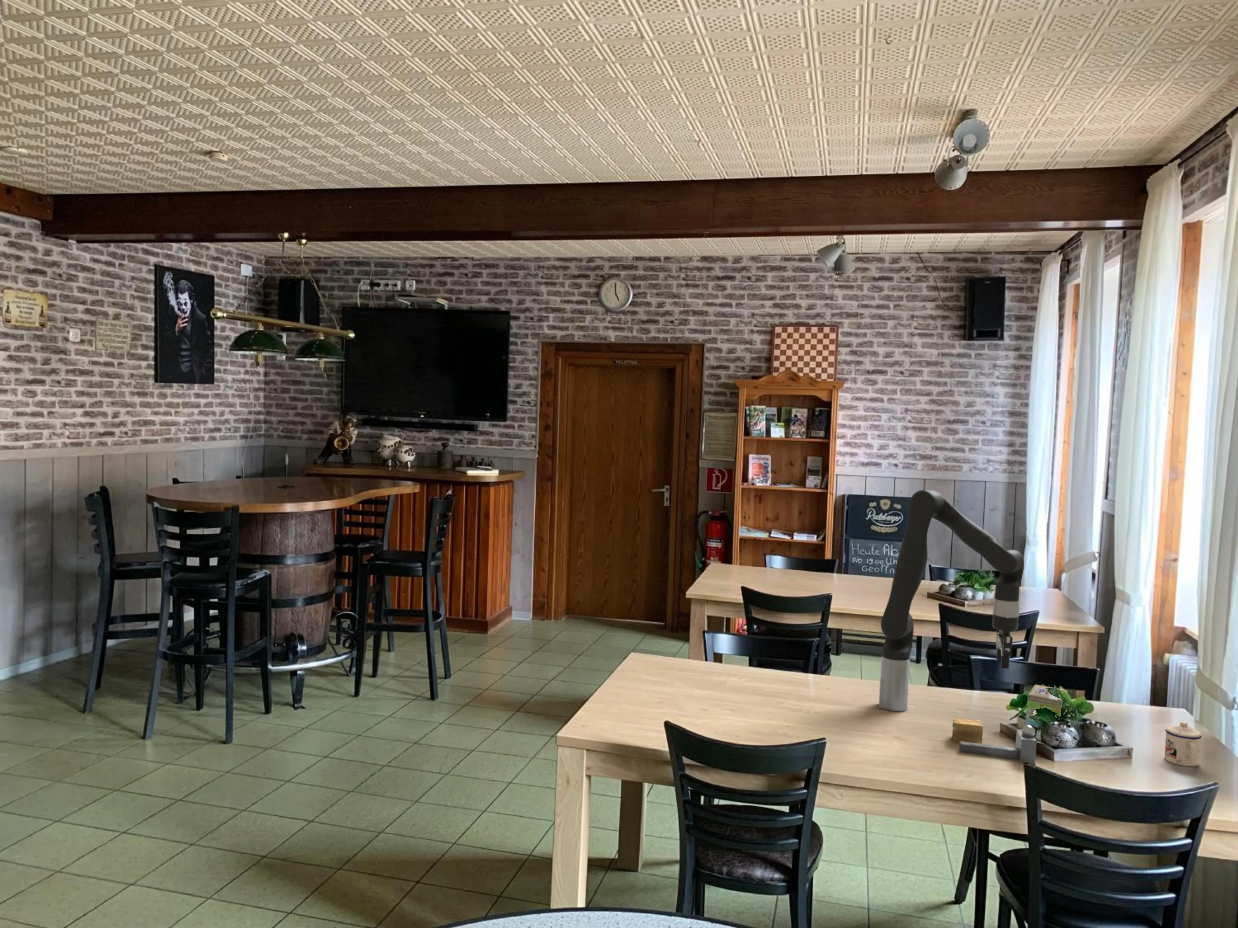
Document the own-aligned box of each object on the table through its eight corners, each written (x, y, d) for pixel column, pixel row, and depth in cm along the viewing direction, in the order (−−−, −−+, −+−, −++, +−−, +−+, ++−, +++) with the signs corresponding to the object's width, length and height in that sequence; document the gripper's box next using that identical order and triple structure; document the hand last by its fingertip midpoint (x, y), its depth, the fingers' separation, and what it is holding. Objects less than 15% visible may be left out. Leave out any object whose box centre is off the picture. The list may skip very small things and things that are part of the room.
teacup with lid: (1158, 754, 279) (1160, 716, 279) (1191, 757, 278) (1193, 718, 278) (1175, 769, 268) (1178, 729, 267) (1210, 772, 266) (1213, 731, 266)
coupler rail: (961, 755, 272) (962, 722, 272) (958, 745, 281) (959, 713, 280) (1036, 764, 267) (1038, 730, 266) (1030, 754, 276) (1032, 721, 275)
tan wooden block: (952, 742, 284) (953, 722, 283) (951, 736, 289) (952, 717, 289) (981, 745, 282) (982, 726, 281) (979, 739, 287) (980, 720, 287)
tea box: (1059, 748, 282) (1062, 700, 281) (1023, 741, 287) (1026, 693, 286) (1065, 735, 294) (1068, 688, 294) (1030, 728, 300) (1033, 683, 299)
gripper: (989, 608, 301) (986, 658, 301) (996, 617, 287) (993, 669, 288) (1014, 610, 299) (1011, 660, 300) (1022, 619, 285) (1019, 671, 286)
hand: (1002, 664), depth 294 cm, fingers open, 8 cm apart
